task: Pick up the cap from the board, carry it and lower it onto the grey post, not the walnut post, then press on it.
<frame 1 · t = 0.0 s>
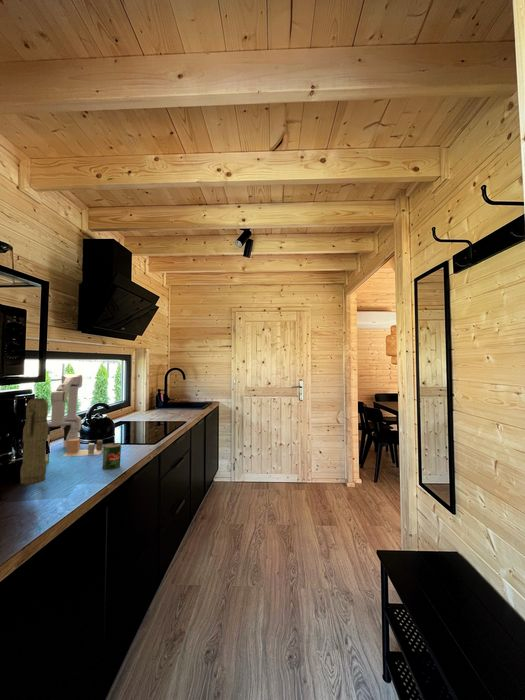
hand: (56, 440, 162), 10 cm above the worktop, tool pointing down, fingers open, 7 cm apart
canned tomato: (111, 468, 152), on the worktop
brown tall block piece: (32, 481, 133), on the worktop
syrup box: (39, 465, 153), on the worktop
cap: (73, 451, 175), point 1 cm above the worktop, touching board
grey post: (91, 452, 174), resting on board
walnut post: (99, 449, 181), resting on board
board: (83, 453, 174), on the worktop
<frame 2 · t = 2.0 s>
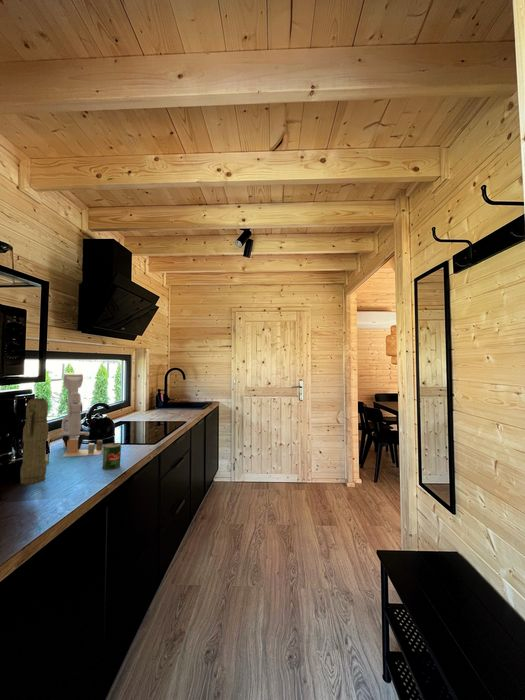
hand: (73, 449, 175), 2 cm above the worktop, tool pointing down, fingers closed on cap, 5 cm apart
cap: (73, 451, 175), point 1 cm above the worktop, touching board, gripper
everything else where it was.
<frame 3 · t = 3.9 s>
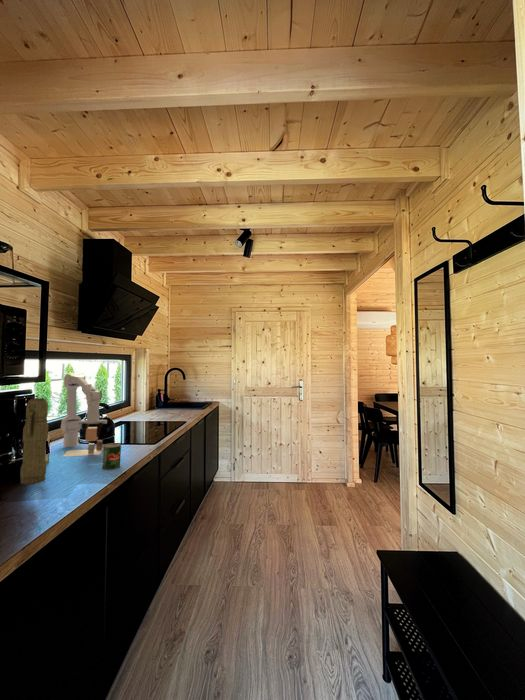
hand: (91, 437, 174), 9 cm above the worktop, tool pointing down, fingers closed on cap, 5 cm apart
cap: (91, 439, 174), point 8 cm above the worktop, touching gripper
everything else where it was.
when the fingers open (3 cm above the worktop, at t = 5.8 s): cap drops 1 cm, resting on board.
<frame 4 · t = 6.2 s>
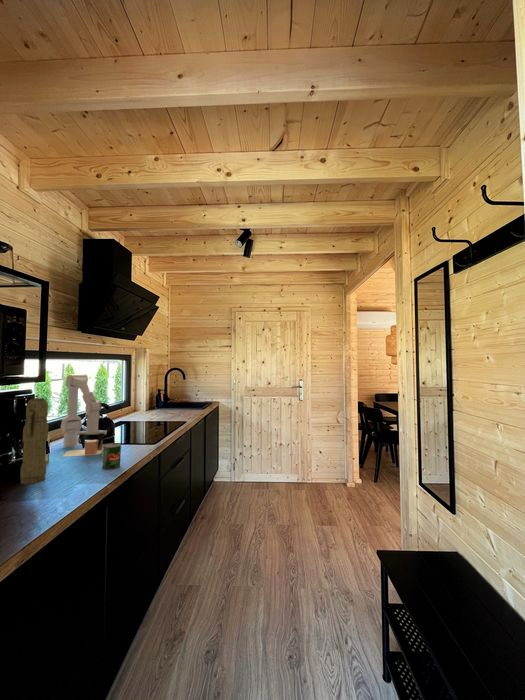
hand: (91, 447, 174), 3 cm above the worktop, tool pointing down, fingers open, 7 cm apart
cap: (91, 452, 173), point 1 cm above the worktop, touching board
everything else where it was.
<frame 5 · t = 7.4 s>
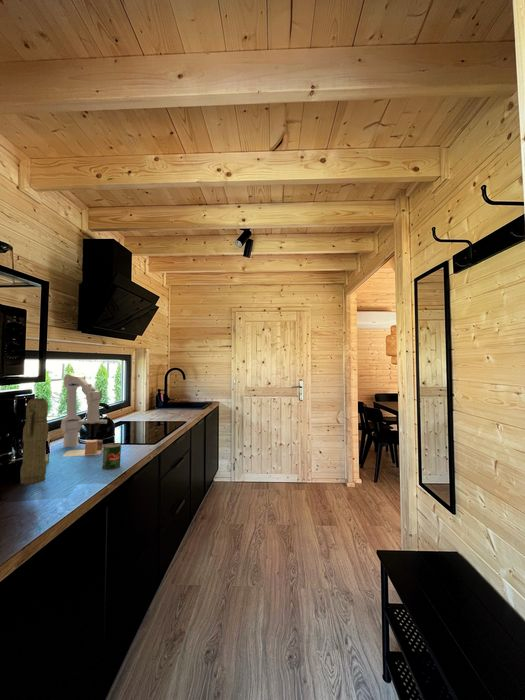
hand: (91, 436, 174), 9 cm above the worktop, tool pointing down, fingers closed
nothing on the worktop moved.
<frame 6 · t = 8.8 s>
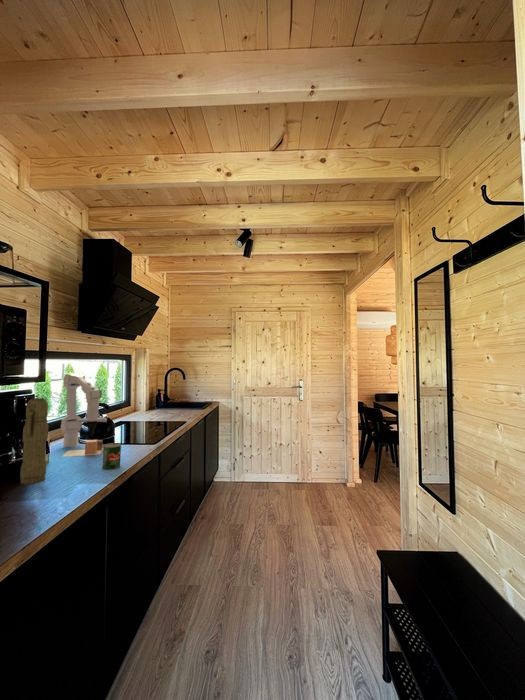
hand: (91, 435, 174), 10 cm above the worktop, tool pointing down, fingers closed
nothing on the worktop moved.
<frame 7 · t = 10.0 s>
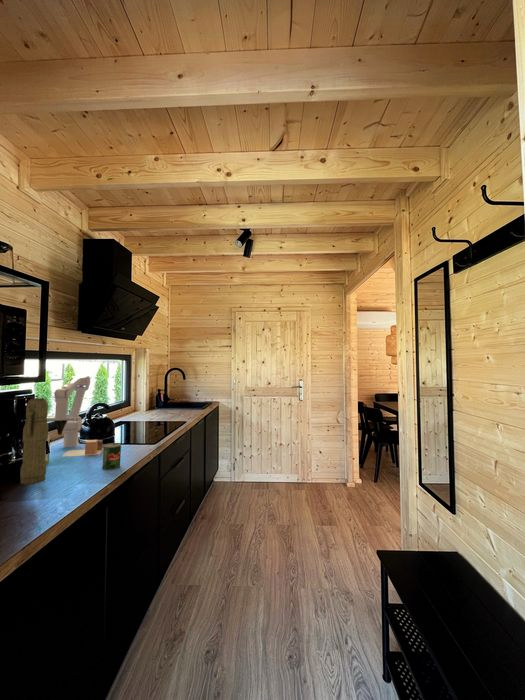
hand: (59, 434, 174), 10 cm above the worktop, tool pointing down, fingers closed
nothing on the worktop moved.
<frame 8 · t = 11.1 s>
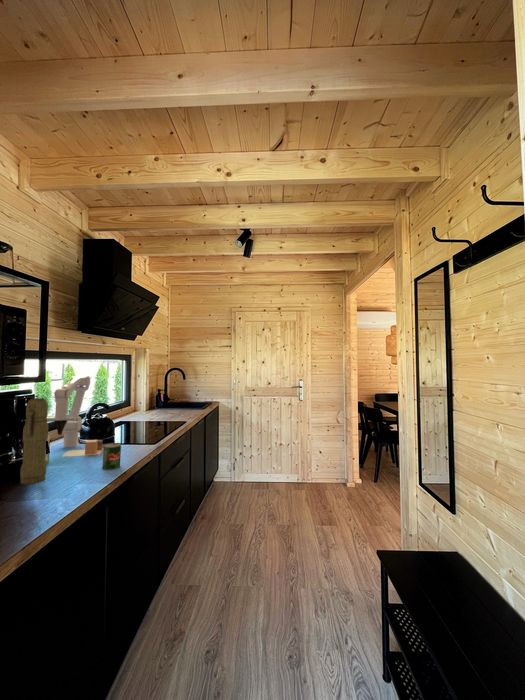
hand: (59, 434, 174), 10 cm above the worktop, tool pointing down, fingers closed
nothing on the worktop moved.
at the end: cap 0.1 cm from the grey post (horizontally); cap point 0.6 cm above the worktop; cap tilted 0° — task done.
